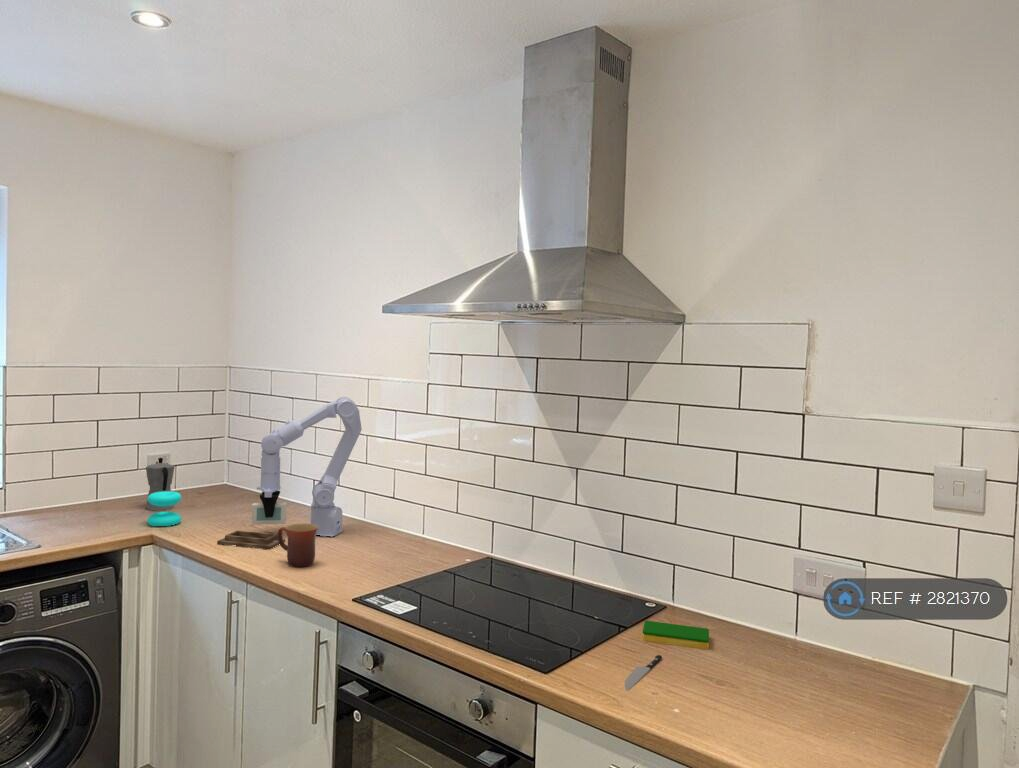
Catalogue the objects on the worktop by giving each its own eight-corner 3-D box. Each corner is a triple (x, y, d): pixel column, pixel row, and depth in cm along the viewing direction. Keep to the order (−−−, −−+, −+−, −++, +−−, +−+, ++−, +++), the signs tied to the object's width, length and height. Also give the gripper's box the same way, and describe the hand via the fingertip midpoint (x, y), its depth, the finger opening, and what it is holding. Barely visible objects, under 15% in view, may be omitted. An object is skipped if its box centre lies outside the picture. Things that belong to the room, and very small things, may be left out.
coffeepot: (141, 506, 266) (142, 455, 265) (169, 503, 272) (170, 454, 271) (150, 514, 254) (151, 462, 253) (180, 511, 260) (181, 460, 259)
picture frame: (286, 521, 236) (286, 502, 235) (285, 523, 233) (285, 504, 232) (252, 522, 233) (253, 503, 233) (251, 524, 231) (252, 505, 230)
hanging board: (285, 542, 226) (285, 533, 226) (269, 549, 217) (269, 541, 217) (234, 537, 230) (234, 528, 230) (217, 544, 221) (217, 535, 221)
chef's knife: (610, 692, 136) (625, 695, 135) (610, 686, 136) (625, 689, 135) (649, 657, 153) (663, 659, 151) (648, 651, 153) (662, 654, 151)
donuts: (164, 489, 248) (188, 492, 245) (163, 519, 248) (187, 522, 245) (140, 494, 239) (165, 497, 235) (139, 525, 239) (165, 529, 236)
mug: (323, 562, 207) (324, 525, 207) (304, 570, 199) (305, 532, 199) (287, 556, 211) (288, 520, 211) (267, 564, 203) (268, 527, 203)
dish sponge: (644, 630, 167) (644, 619, 167) (708, 639, 163) (708, 628, 163) (641, 642, 160) (642, 631, 160) (708, 651, 157) (709, 640, 156)
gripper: (259, 468, 238) (258, 510, 239) (254, 476, 224) (253, 521, 225) (282, 468, 240) (281, 510, 241) (278, 476, 226) (278, 521, 227)
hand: (269, 515), depth 233 cm, fingers closed on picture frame, 3 cm apart
